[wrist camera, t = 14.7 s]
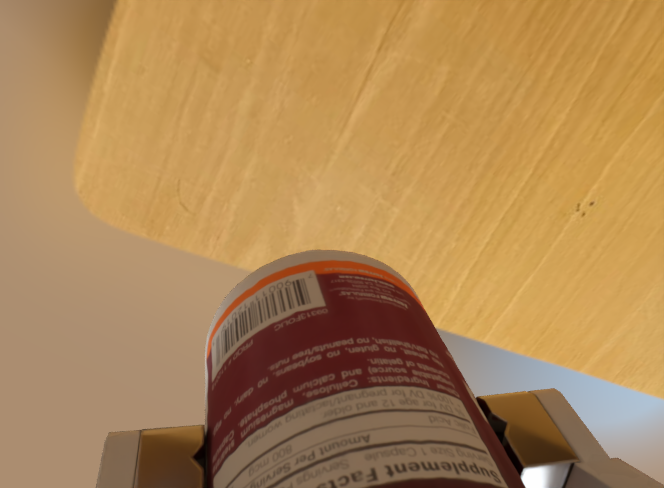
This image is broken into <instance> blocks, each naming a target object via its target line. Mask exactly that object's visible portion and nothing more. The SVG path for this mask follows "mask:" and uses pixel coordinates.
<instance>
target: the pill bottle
mask: <svg viewBox="0 0 664 488" xmlns="http://www.w3.org/2000/svg"><path fill="white" fill-rule="evenodd" d="M205 435H206V465H205V488H526V487H525V485H524V483H523V481H522V479H521V477H520V475H519V474H518V472H517V470H516V469H515V467H514V465H513V464H512V462H511V460H510V459H509V457H508V456H507V454H506V452H505V450H504V448H503V446H502V444H501V443H500V441H499V439H498V438H497V436H496V434H495V432H494V431H493V429H492V427H491V426H490V424H489V422H488V420H487V418H486V417H485V415H484V413H483V412H482V410H481V408H480V406H479V404H478V402H477V400H476V398H475V397H474V394H473V393H472V391H471V389H470V388H469V386H468V384H467V383H466V381H465V379H464V377H463V376H462V374H461V372H460V371H459V369H458V367H457V365H456V363H455V361H454V360H453V357H452V355H451V354H450V353H449V351H448V349H447V347H446V346H445V344H444V342H443V341H442V339H441V338H440V336H439V334H438V332H437V330H436V329H435V327H434V325H433V323H432V321H431V320H430V318H429V316H428V315H427V313H426V311H425V309H424V308H423V305H422V304H421V302H420V300H419V298H418V296H417V295H416V293H415V291H414V290H413V288H412V287H411V286H410V284H409V283H408V282H407V281H406V280H405V279H404V278H403V277H402V276H401V275H400V274H399V273H398V272H396V271H395V270H393V269H392V268H391V267H389V266H388V265H386V264H384V263H382V262H380V261H378V260H375V259H373V258H370V257H368V256H365V255H360V254H356V253H353V252H346V251H336V250H309V251H305V252H300V253H296V254H292V255H288V256H285V257H283V258H280V259H277V260H275V261H273V262H271V263H269V264H266V265H264V266H262V267H261V268H259V269H257V270H256V271H254V272H253V273H251V274H250V275H248V276H247V277H246V278H245V279H244V280H242V281H241V282H240V283H239V284H237V286H236V287H235V288H234V289H233V290H231V291H230V293H229V294H228V295H227V296H226V297H225V299H224V301H223V302H222V304H221V305H220V307H219V308H218V310H217V312H216V314H215V316H214V318H213V320H212V323H211V326H210V329H209V332H208V335H207V341H206V349H205Z"/></svg>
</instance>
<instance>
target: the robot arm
mask: <svg viewBox="0 0 664 488" xmlns="http://www.w3.org/2000/svg"><path fill="white" fill-rule="evenodd" d="M476 400H477V402H478V404H479V406H480V408H481V410H482V412H483V413H484V415H485V417H486V418H487V420H488V422H489V424H490V426H491V427H492V429H493V431H494V432H495V434H496V436H497V438H498V439H499V441H500V443H501V444H502V446H503V448H504V450H505V452H506V454H507V456H508V457H509V459H510V460H511V462H512V464H513V465H514V467H515V469H516V470H517V472H518V474H519V475H520V477H521V479H522V481H523V483H524V485H525V487H526V488H664V485H663V484H661V483H659V482H658V481H656V480H654V479H652V478H650V477H649V476H648V475H646V474H644V473H642V472H641V471H639V470H637V469H636V468H634V467H632V466H631V465H629V464H627V463H626V462H624V461H622V460H621V459H619V458H611V459H610V458H609V456H608V455H607V454H606V452H605V451H604V450H603V448H602V447H601V445H600V444H599V443H598V441H597V440H596V439H595V438H594V436H593V435H592V433H591V432H590V431H589V429H588V428H587V427H586V425H585V424H584V423H583V421H582V420H581V419H580V417H579V416H578V415H577V413H576V412H575V411H574V409H573V408H572V407H571V405H570V404H569V403H568V401H567V400H566V399H565V397H564V396H563V395H562V394H561V392H559V391H558V390H556V389H554V388H553V389H544V390H534V391H528V392H526V391H523V392H515V393H505V394H496V395H489V396H488V395H487V396H479V397H476ZM205 465H206V435H205V425H196V426H195V425H194V426H182V427H167V428H154V429H143V430H136V431H122V432H110V433H109V434H108V436H107V438H106V440H105V443H104V448H103V453H102V458H101V464H100V468H99V474H98V479H97V484H96V488H205Z"/></svg>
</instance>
